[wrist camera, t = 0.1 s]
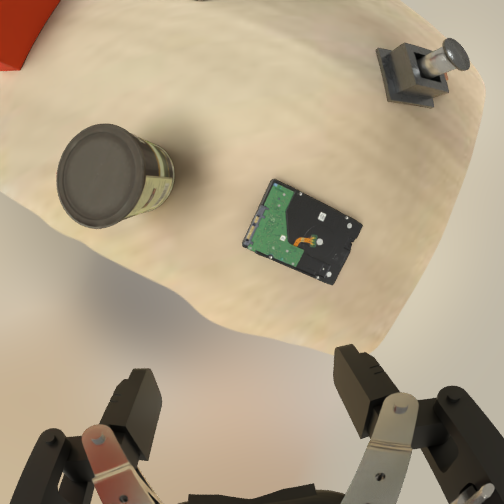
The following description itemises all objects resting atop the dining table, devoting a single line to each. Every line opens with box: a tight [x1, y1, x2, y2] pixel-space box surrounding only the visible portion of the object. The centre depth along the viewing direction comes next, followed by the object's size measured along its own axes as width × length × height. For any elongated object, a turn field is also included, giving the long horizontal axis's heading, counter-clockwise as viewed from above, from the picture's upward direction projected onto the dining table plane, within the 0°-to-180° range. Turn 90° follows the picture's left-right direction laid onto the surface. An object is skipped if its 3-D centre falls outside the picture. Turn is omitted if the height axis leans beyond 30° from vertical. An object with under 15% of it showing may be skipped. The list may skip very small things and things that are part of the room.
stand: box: [376, 43, 449, 108], centre depth 31 cm, size 10×10×7 cm
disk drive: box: [242, 179, 363, 285], centre depth 39 cm, size 10×3×15 cm
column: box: [416, 38, 470, 79], centre depth 27 cm, size 5×5×13 cm
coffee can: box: [57, 124, 175, 229], centre depth 29 cm, size 10×10×14 cm
